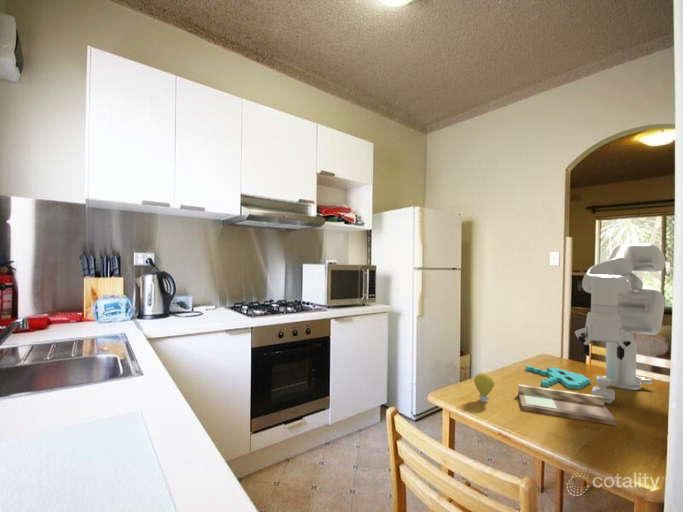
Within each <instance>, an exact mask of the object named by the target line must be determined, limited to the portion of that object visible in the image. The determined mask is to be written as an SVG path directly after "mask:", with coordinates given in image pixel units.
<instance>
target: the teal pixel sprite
mask: <svg viewBox="0 0 683 512" xmlns="http://www.w3.org/2000/svg"><path fill="white" fill-rule="evenodd" d="M525 370H526V372H532V371H533V372H532V373H534V374H537V373H539V374H538V375H541V376H542V375H543V376H545V377H548V378H544V380H543V379H541V381H540V385H541V386H542V388H549V387H550V386H554V385H555V384H558V383H561V384H562V385H563V386H564V387H565V388H566V389H571V390H581V388H585V387H588V385H591V379H590V378H588V377H586V376H585V375H583V374H582V373H576V372H573V371H568V370H566V369H560V368H559V367H551V366H550V367H549V366H547V367H546V369H540V368H539V367H533V366H531V365H525Z"/></svg>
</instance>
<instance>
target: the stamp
mask: <svg viewBox="0 0 683 512" xmlns="http://www.w3.org/2000/svg"><path fill="white" fill-rule="evenodd" d="M595 381H596V385H593V387H592V390H591V392H590V395H596V396H603V397H604V404H609V405H611V403H613V402H614V401H615V398H616V393H615V390H614V389H609V388H607V387H610V385H611V378H607V377H603V376H601V375H596V377H595ZM597 385H599V386H597Z"/></svg>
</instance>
